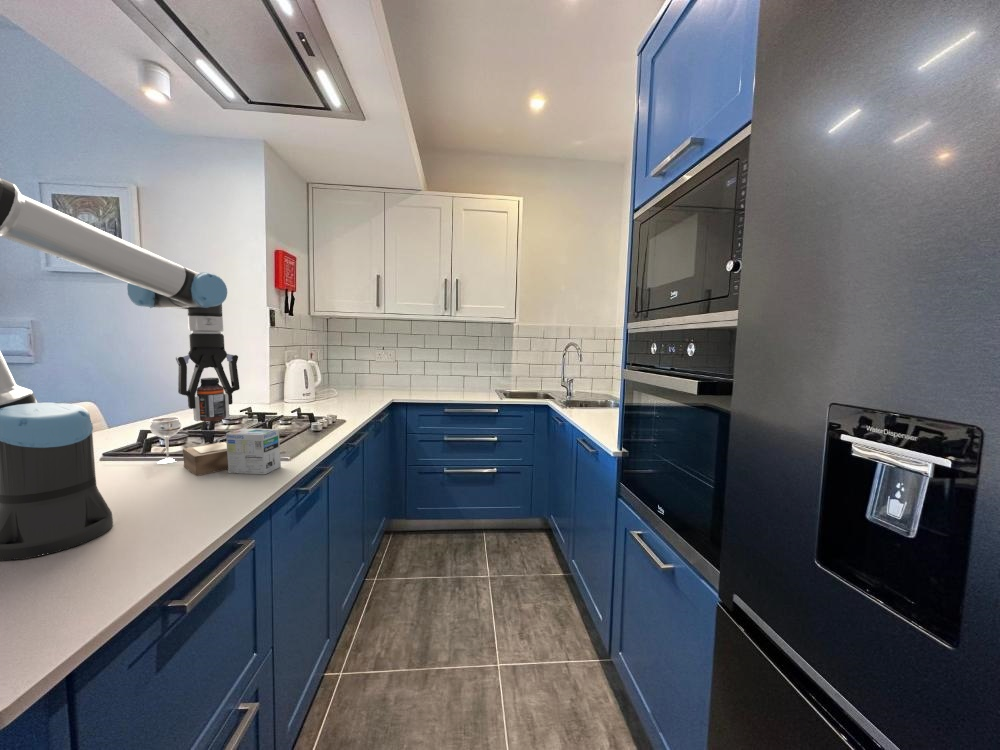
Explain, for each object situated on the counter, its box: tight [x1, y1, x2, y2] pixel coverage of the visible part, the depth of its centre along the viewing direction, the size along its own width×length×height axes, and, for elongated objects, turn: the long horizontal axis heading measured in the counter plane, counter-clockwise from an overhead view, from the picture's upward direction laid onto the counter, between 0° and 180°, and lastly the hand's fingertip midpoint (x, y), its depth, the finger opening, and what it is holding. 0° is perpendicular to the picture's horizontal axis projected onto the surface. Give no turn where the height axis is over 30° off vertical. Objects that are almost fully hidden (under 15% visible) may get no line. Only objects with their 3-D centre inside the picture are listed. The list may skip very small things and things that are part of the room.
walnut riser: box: [182, 441, 228, 477], centre depth 111 cm, size 11×11×5 cm
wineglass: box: [149, 416, 182, 464], centre depth 115 cm, size 7×7×12 cm
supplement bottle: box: [196, 377, 226, 422], centre depth 110 cm, size 6×6×11 cm
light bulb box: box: [225, 427, 282, 475], centre depth 108 cm, size 11×7×11 cm, turn 84°
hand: (212, 418), depth 110 cm, fingers closed on supplement bottle, 6 cm apart
